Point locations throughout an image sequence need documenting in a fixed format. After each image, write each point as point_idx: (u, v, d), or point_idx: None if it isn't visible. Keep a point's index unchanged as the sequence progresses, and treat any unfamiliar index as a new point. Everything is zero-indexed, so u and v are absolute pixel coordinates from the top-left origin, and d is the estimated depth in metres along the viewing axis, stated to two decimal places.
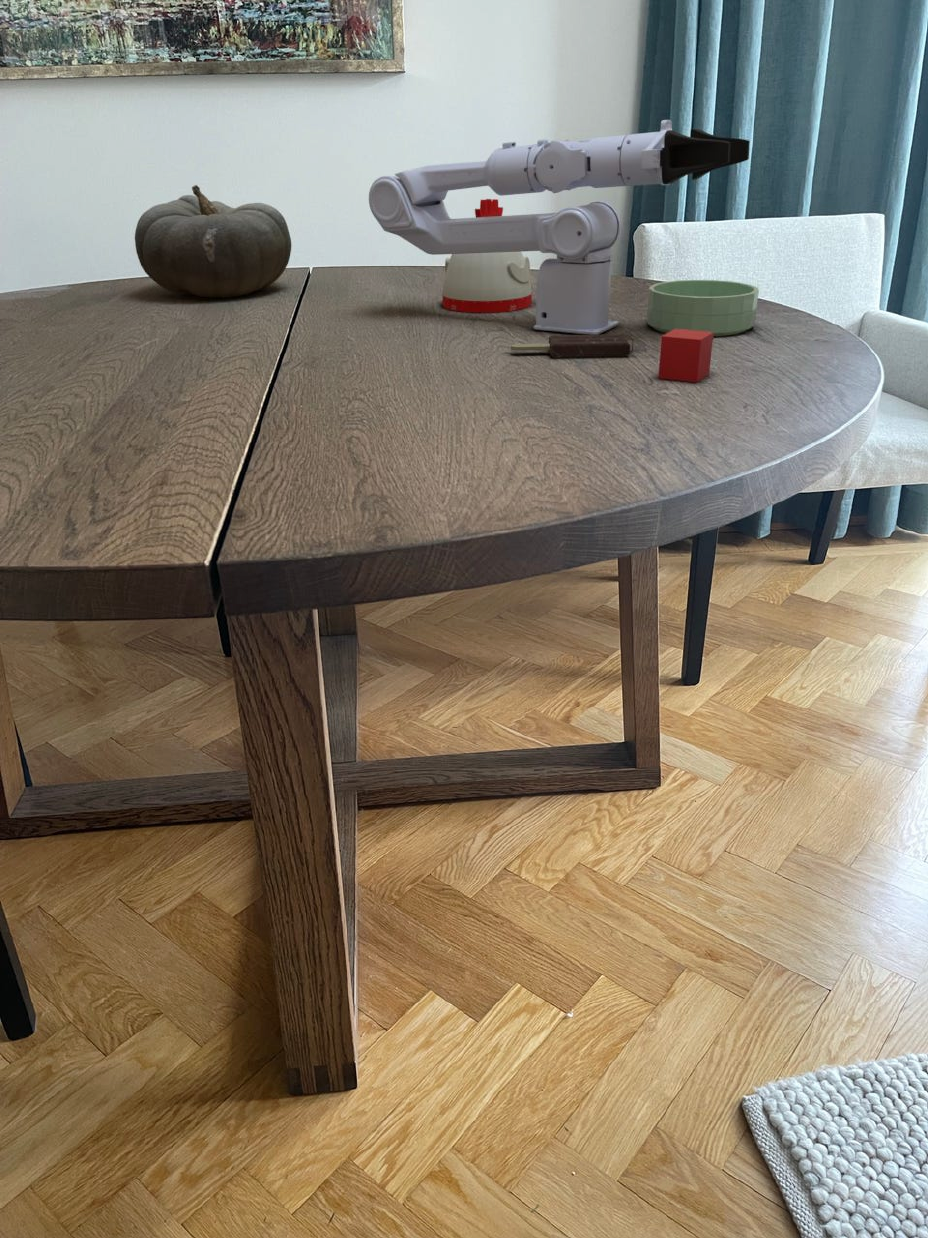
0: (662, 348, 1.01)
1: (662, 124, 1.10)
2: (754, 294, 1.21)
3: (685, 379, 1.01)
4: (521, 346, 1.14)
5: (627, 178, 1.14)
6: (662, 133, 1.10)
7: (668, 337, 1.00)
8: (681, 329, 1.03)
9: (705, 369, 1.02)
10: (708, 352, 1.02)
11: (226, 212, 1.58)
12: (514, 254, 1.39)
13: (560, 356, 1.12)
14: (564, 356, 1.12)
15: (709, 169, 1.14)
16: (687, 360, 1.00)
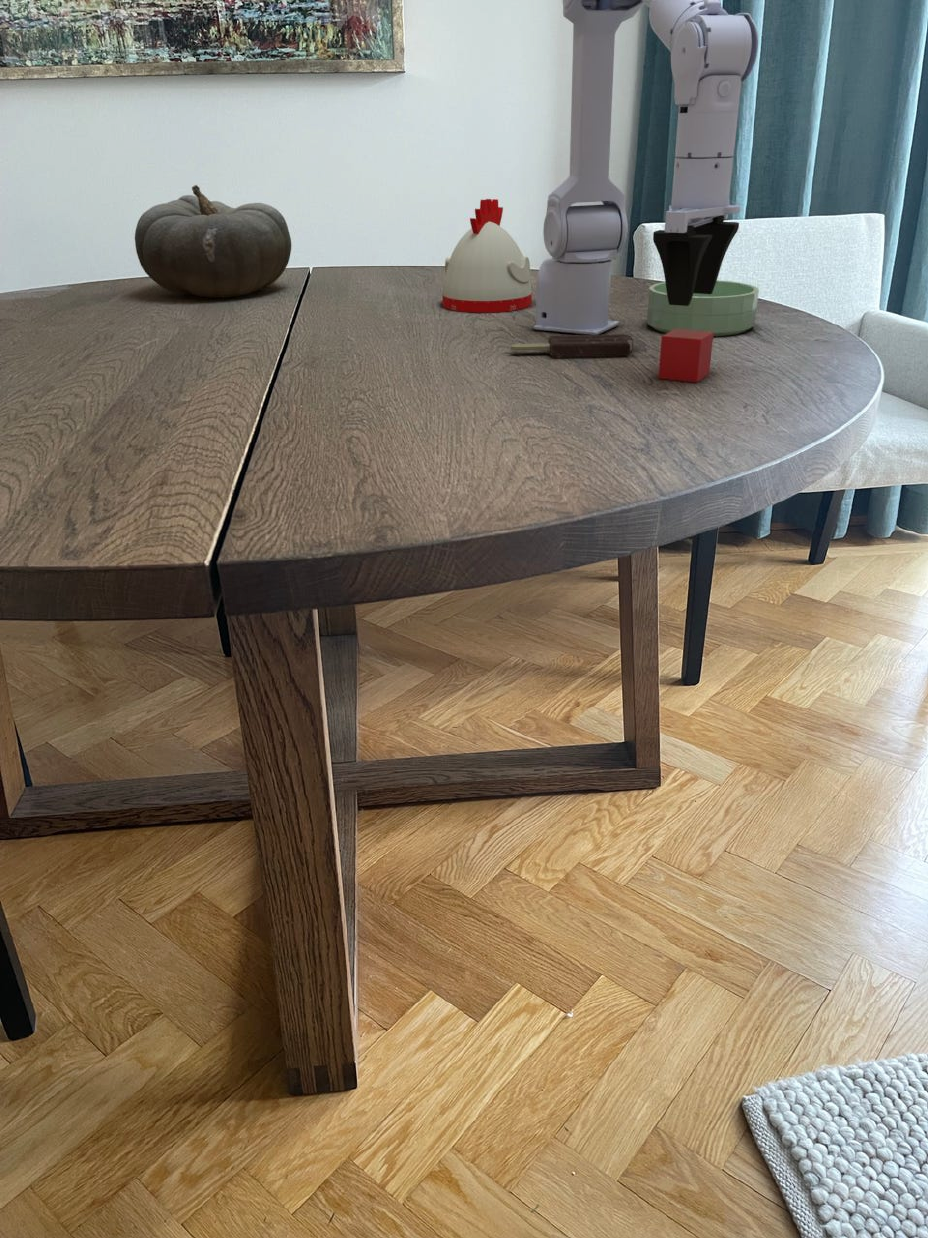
0: (662, 348, 1.01)
1: (730, 209, 0.93)
2: (754, 294, 1.21)
3: (685, 379, 1.01)
4: (521, 346, 1.14)
5: (678, 163, 0.93)
6: (718, 212, 0.93)
7: (668, 337, 1.00)
8: (681, 329, 1.03)
9: (705, 369, 1.02)
10: (708, 352, 1.02)
11: (226, 212, 1.58)
12: (514, 254, 1.39)
13: (560, 356, 1.12)
14: (564, 356, 1.12)
15: None
16: (687, 360, 1.00)
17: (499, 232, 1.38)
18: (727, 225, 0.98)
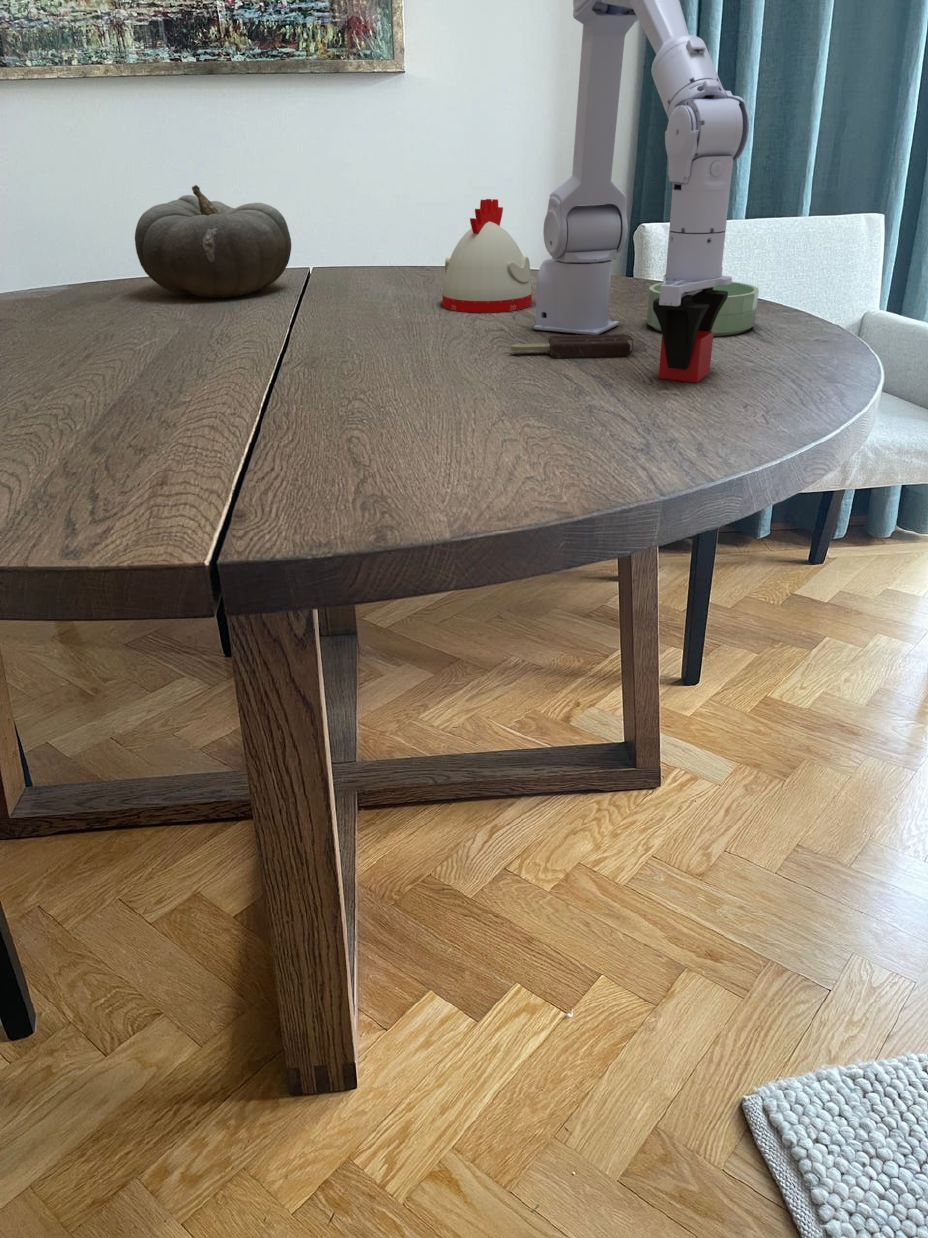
0: (662, 348, 1.01)
1: (722, 281, 0.96)
2: (754, 294, 1.21)
3: (685, 379, 1.01)
4: (521, 346, 1.14)
5: (672, 237, 0.96)
6: (711, 284, 0.96)
7: None
8: None
9: (705, 368, 1.02)
10: (708, 352, 1.02)
11: (226, 212, 1.58)
12: (514, 254, 1.39)
13: (560, 356, 1.12)
14: (564, 356, 1.12)
15: None
16: None
17: (499, 231, 1.38)
18: (716, 295, 1.00)
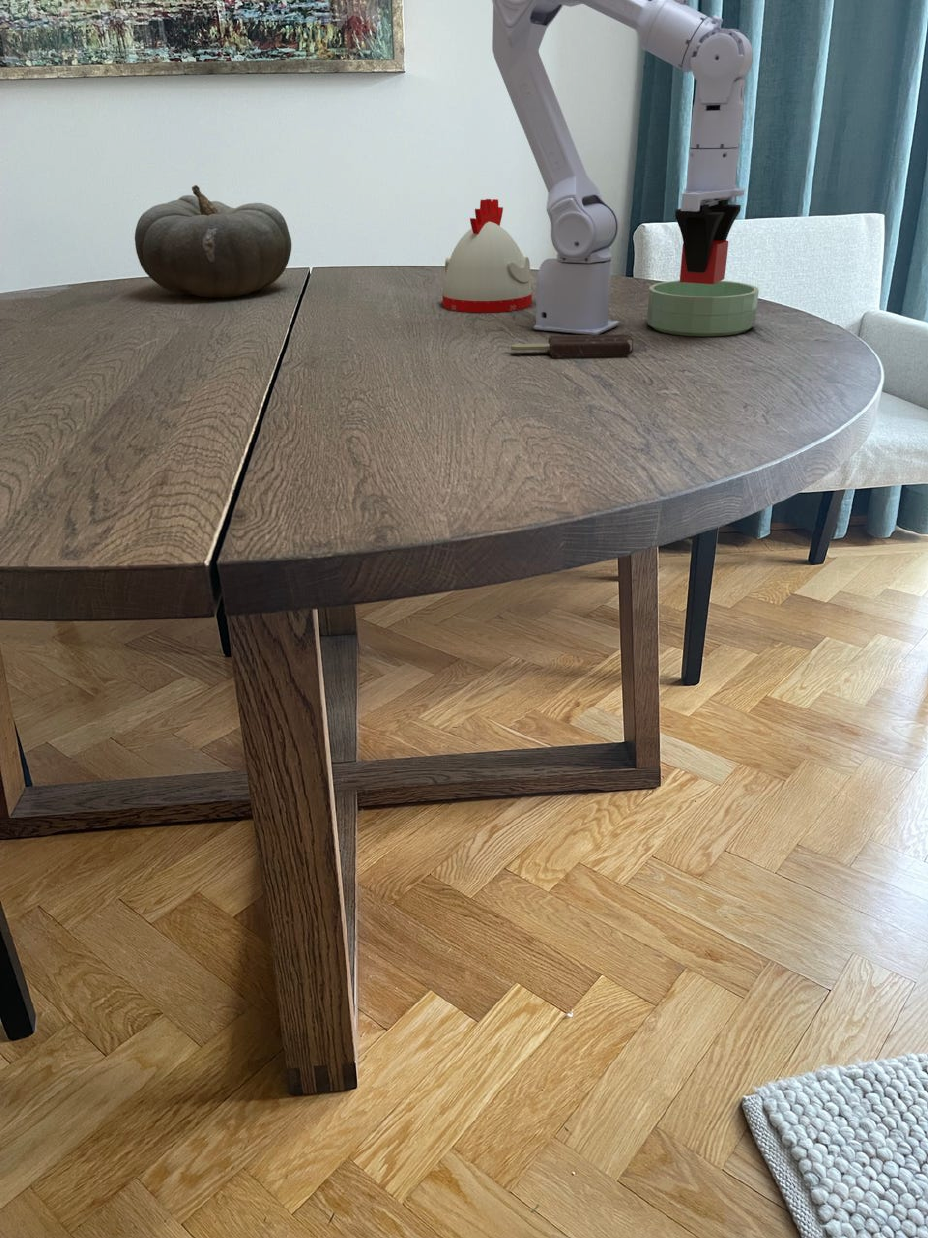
0: (683, 254, 1.15)
1: (736, 191, 1.10)
2: (754, 294, 1.21)
3: (703, 281, 1.15)
4: (521, 346, 1.14)
5: (692, 153, 1.10)
6: (726, 195, 1.10)
7: None
8: None
9: (720, 273, 1.16)
10: (723, 258, 1.16)
11: (226, 212, 1.58)
12: (514, 254, 1.39)
13: (560, 356, 1.12)
14: (564, 356, 1.12)
15: None
16: None
17: (499, 232, 1.38)
18: (730, 207, 1.14)
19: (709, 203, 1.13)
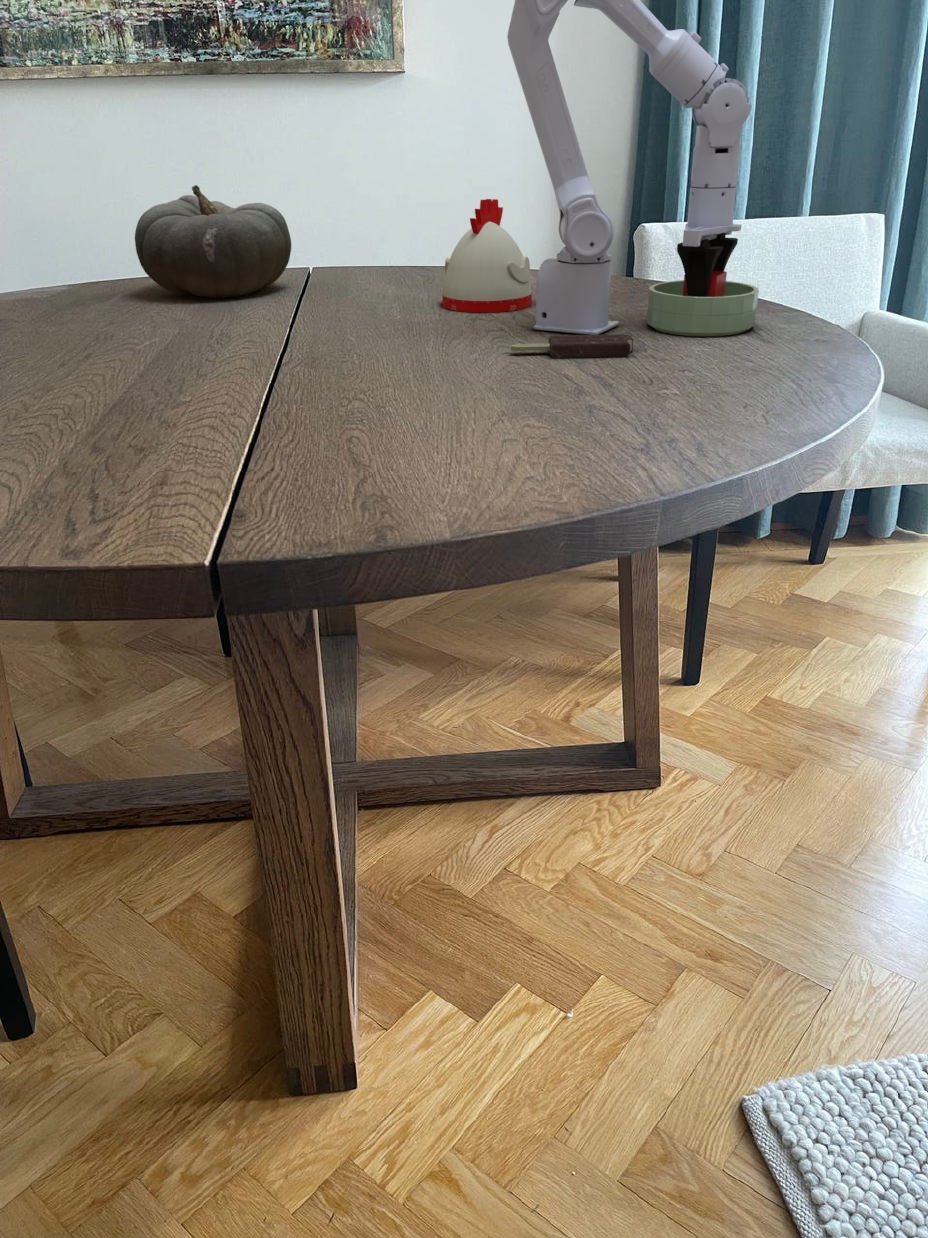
0: (685, 284, 1.23)
1: (734, 227, 1.18)
2: (754, 294, 1.21)
3: None
4: (521, 346, 1.14)
5: (692, 192, 1.18)
6: (724, 230, 1.18)
7: None
8: None
9: None
10: (722, 288, 1.24)
11: (226, 212, 1.58)
12: (514, 254, 1.39)
13: (560, 356, 1.12)
14: (564, 356, 1.12)
15: None
16: None
17: (499, 231, 1.38)
18: (728, 240, 1.23)
19: (708, 237, 1.21)
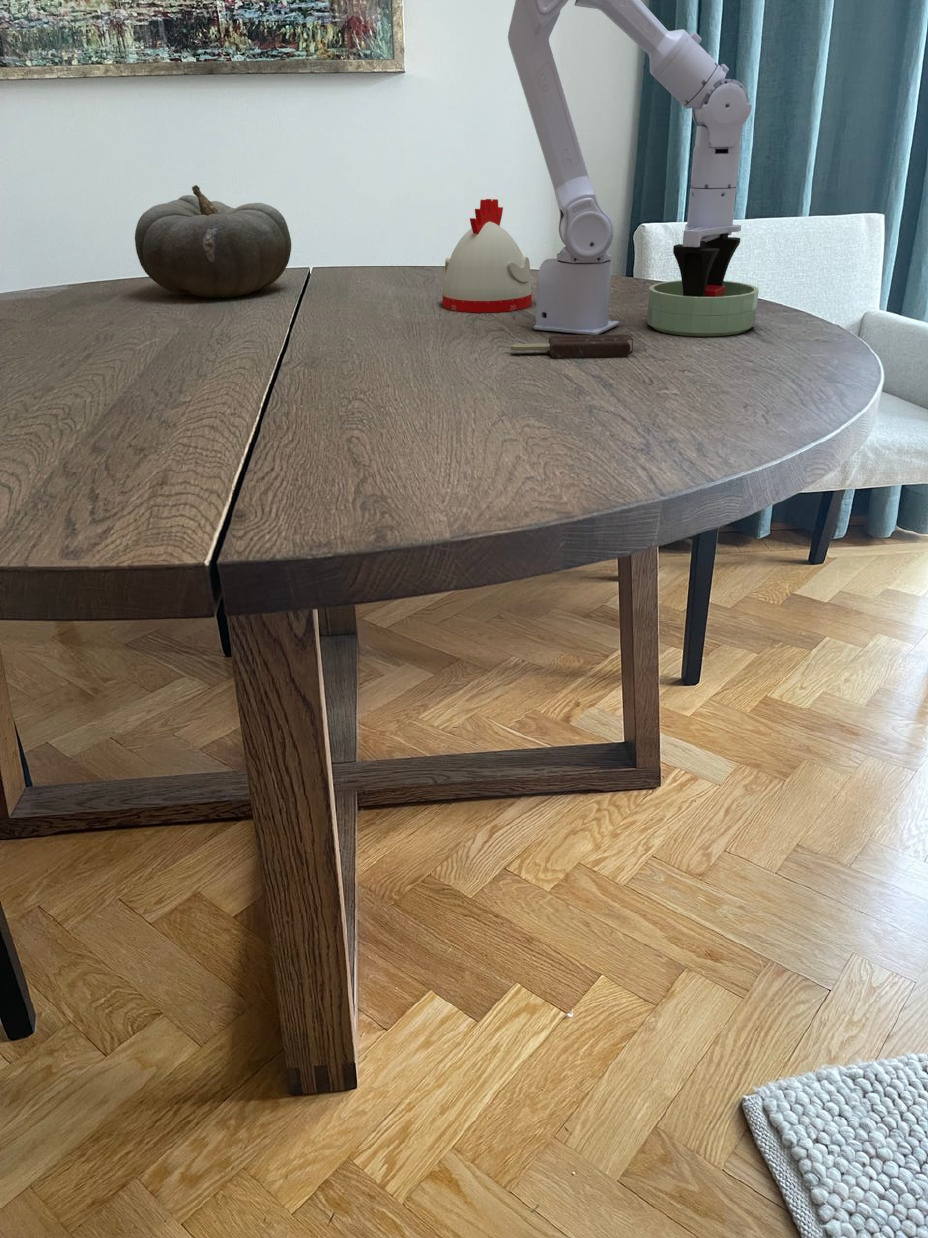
0: None
1: (733, 228, 1.18)
2: (754, 294, 1.21)
3: None
4: (521, 346, 1.14)
5: (692, 192, 1.18)
6: (724, 231, 1.18)
7: None
8: None
9: None
10: None
11: (226, 212, 1.58)
12: (514, 254, 1.39)
13: (560, 356, 1.12)
14: (564, 356, 1.12)
15: None
16: None
17: (499, 232, 1.38)
18: (731, 240, 1.24)
19: (708, 238, 1.21)
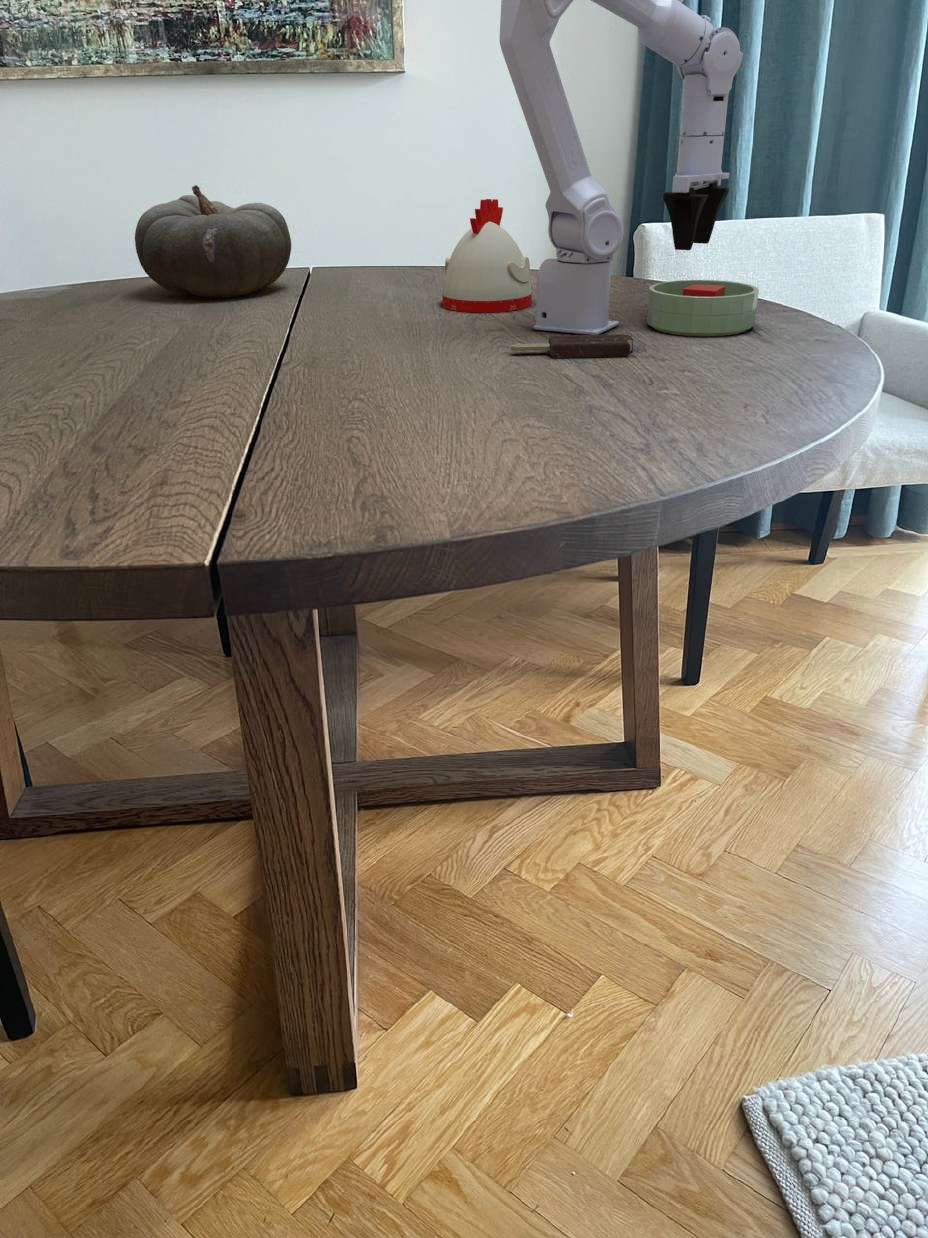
0: None
1: (722, 175, 1.22)
2: (754, 294, 1.21)
3: None
4: (521, 346, 1.14)
5: (682, 140, 1.22)
6: (712, 178, 1.22)
7: (688, 289, 1.23)
8: (699, 284, 1.26)
9: None
10: None
11: (226, 212, 1.58)
12: (514, 254, 1.39)
13: (560, 356, 1.12)
14: (564, 356, 1.12)
15: None
16: None
17: (499, 231, 1.38)
18: (720, 189, 1.27)
19: (697, 186, 1.24)
